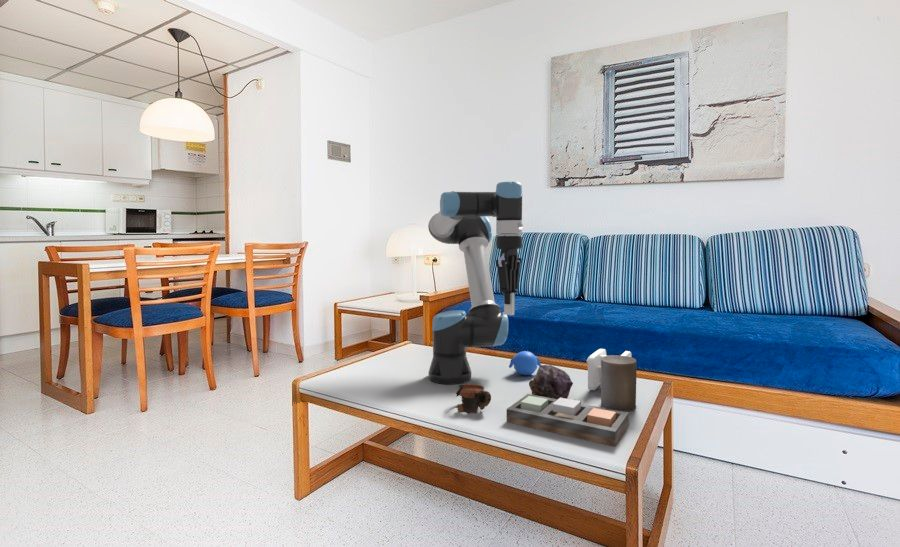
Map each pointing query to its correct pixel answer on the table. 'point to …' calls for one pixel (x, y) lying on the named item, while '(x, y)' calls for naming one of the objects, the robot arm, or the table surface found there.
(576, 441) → the table surface
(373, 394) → the table surface
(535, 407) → the sage key
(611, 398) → the pillar candle
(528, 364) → the blue rounded piece
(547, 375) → the rock
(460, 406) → the pottery mug
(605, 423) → the orange square block
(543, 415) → the keypad
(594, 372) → the cable organizer
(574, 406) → the white key
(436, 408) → the table surface
